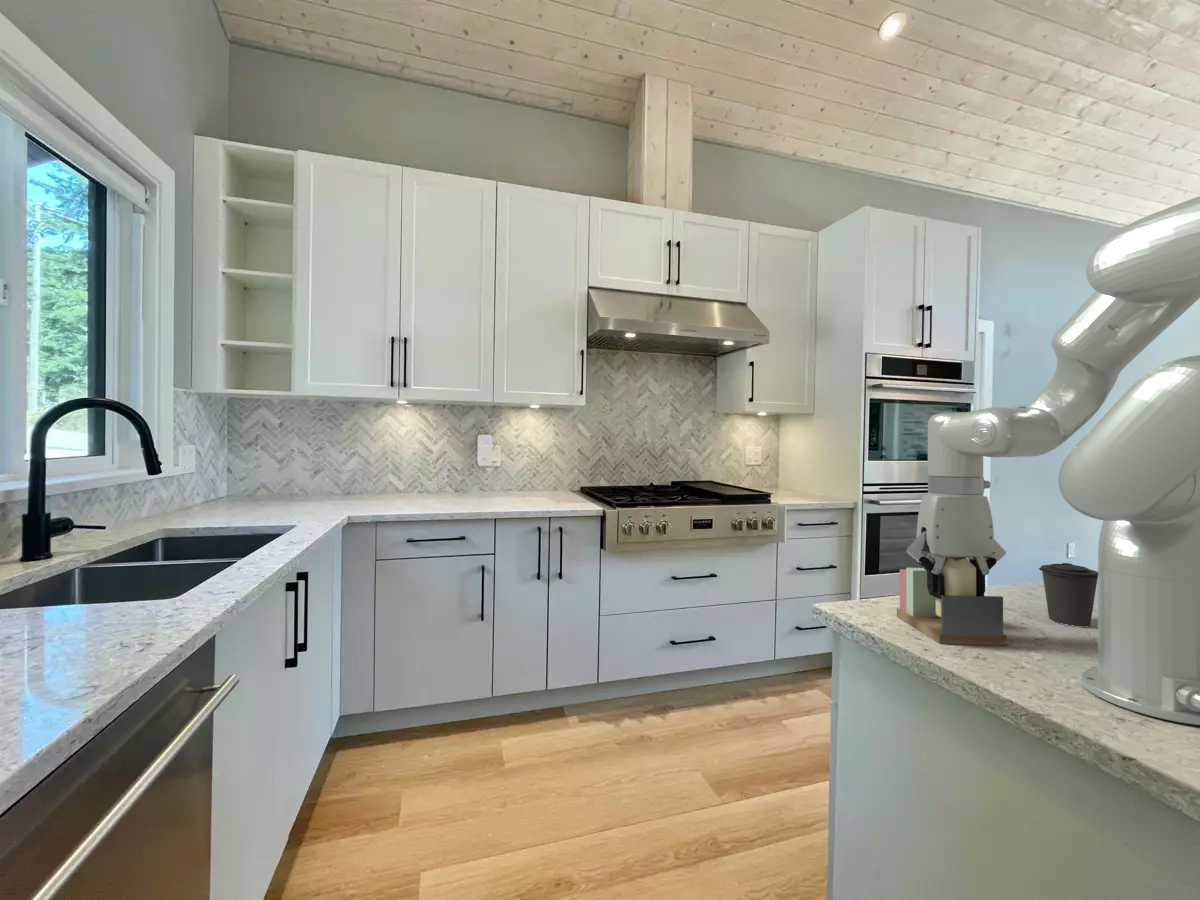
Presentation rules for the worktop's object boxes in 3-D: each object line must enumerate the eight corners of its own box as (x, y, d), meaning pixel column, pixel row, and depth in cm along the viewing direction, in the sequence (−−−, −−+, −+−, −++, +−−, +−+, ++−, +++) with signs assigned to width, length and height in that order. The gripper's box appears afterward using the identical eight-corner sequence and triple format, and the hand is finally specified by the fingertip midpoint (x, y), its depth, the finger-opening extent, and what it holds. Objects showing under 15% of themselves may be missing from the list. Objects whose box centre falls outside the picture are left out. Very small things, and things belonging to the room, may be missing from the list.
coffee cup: (1075, 615, 93) (1074, 561, 93) (1115, 630, 85) (1115, 571, 85) (1027, 613, 94) (1027, 560, 94) (1063, 629, 86) (1062, 570, 86)
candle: (984, 620, 82) (983, 558, 82) (961, 624, 80) (961, 561, 80) (949, 610, 87) (949, 552, 87) (928, 614, 85) (927, 554, 85)
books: (967, 617, 87) (967, 571, 87) (913, 616, 88) (913, 570, 88) (951, 609, 92) (951, 565, 92) (899, 608, 92) (899, 564, 92)
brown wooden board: (1006, 645, 79) (1006, 635, 79) (939, 643, 79) (939, 634, 79) (953, 617, 92) (953, 609, 92) (896, 616, 92) (896, 608, 92)
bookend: (1003, 635, 79) (1003, 597, 79) (943, 634, 79) (943, 596, 79) (1000, 634, 79) (1000, 596, 79) (941, 633, 80) (941, 595, 80)
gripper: (993, 486, 87) (994, 591, 86) (889, 485, 88) (890, 590, 88) (1027, 489, 79) (1028, 604, 79) (913, 489, 80) (914, 603, 80)
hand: (955, 595), depth 83 cm, fingers closed on candle, 5 cm apart
